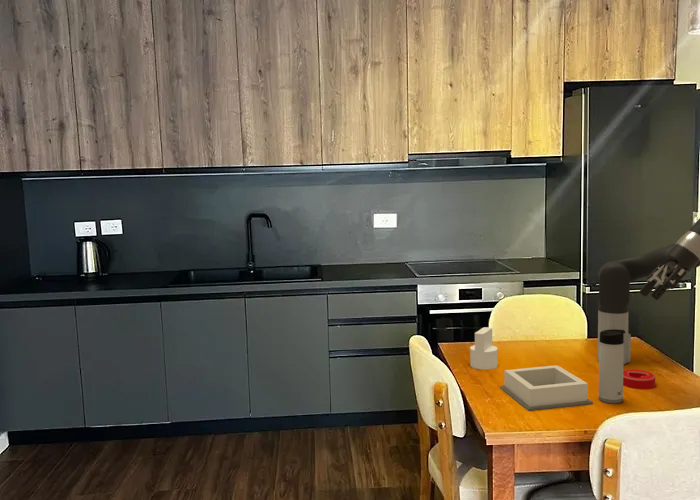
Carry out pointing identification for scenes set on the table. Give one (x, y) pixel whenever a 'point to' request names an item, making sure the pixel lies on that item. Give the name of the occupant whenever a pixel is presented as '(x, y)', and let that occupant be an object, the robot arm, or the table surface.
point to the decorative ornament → (638, 379)
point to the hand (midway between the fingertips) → (647, 296)
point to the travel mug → (611, 365)
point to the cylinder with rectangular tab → (484, 351)
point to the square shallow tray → (545, 388)
